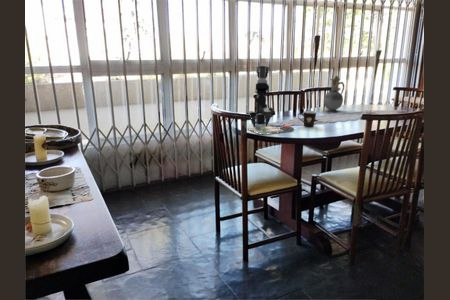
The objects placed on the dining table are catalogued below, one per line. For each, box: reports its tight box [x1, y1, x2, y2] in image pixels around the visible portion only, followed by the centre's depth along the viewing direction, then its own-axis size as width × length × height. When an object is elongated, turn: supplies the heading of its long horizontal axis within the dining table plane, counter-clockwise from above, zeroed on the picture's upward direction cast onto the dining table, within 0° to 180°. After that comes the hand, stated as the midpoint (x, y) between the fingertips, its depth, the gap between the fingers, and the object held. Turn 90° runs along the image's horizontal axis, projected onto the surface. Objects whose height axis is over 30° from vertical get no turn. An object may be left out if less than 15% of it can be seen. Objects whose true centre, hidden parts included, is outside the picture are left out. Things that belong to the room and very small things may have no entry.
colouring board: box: [247, 125, 285, 134], centre depth 211 cm, size 16×18×1 cm
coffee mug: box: [297, 110, 317, 128], centre depth 224 cm, size 12×9×10 cm
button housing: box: [279, 126, 295, 132], centre depth 213 cm, size 6×6×2 cm
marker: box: [254, 124, 266, 132], centre depth 209 cm, size 9×2×2 cm, turn 26°
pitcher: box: [323, 75, 345, 113], centre depth 276 cm, size 11×19×30 cm, turn 119°
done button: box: [282, 124, 291, 129], centre depth 212 cm, size 5×5×2 cm
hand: (260, 126), depth 208 cm, fingers open, 9 cm apart
